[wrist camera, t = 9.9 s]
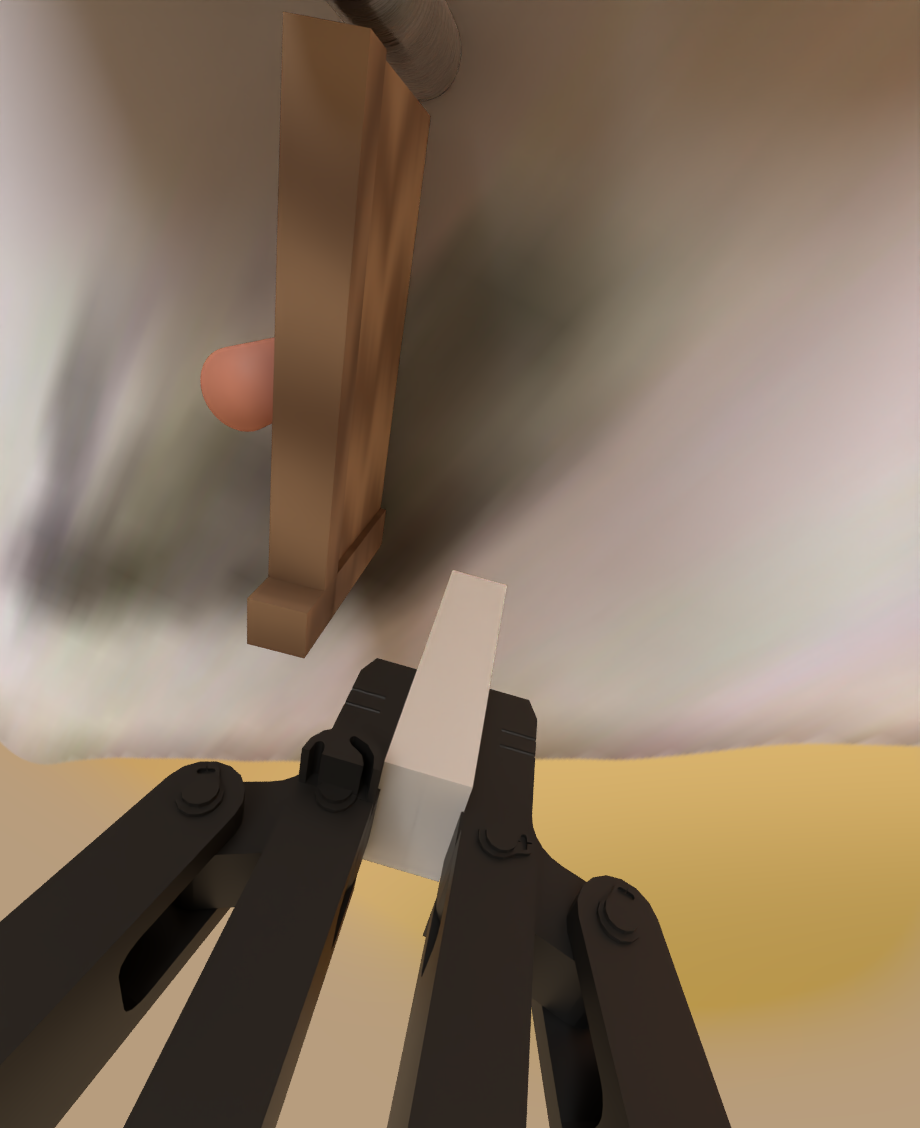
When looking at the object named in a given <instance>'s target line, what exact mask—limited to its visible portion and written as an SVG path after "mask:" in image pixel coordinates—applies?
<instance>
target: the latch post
mask: <svg viewBox="0 0 920 1128" xmlns="http://www.w3.org/2000/svg"><path fill="white" fill-rule="evenodd" d="M274 341H275V337H274V338H269V339H264V340H259V341H254V342H249V343H244V344H239V345H234V346H229V347H224V348H221V349H218V350H216V351H215V352H213V353H212V354H211V355H210V356H209V357H208V358H207V359H206V361H205V363H204V365H203V368H202V371H201V380H200V381H201V389H202V393H203V397H204V399H205V402H206V403H207V405H208V407H209V409H210V410H211V411H212V413H213V414H214V415H215V416H216V417H217V418H218V419H219V420H220V421H221V422H223V423H224V424H225V425H227V426H229V427H231V428H233V429H236V430H239V431H246V432H249V431H256V430H259V429H261V428H263V427H266V426H268V425H270V424H272V419H273V380H274Z"/></svg>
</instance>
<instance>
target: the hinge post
mask: <svg viewBox="0 0 920 1128" xmlns="http://www.w3.org/2000/svg"><path fill="white" fill-rule="evenodd" d="M326 1H327V2H328V3H329V5H330V6H331V7H332V8H333V9H334V11H335V12H336V13H337V14H338V15H339V16H340V18H341V19H342V20H343V21H344V22H345V23H346V24H351V25H356V26H361V27H366V28H371V29H372V31H373V32H374V33H375V35H376V36H377V37H378V39H379V40H380V41H381V42H382V44H383V45H384V46H385V48H386V49H387V54H386V61H387V62H388V63H389V65H390V66H391V67H392V68H393V70H394V71H395V72H396V73H397V75H398V76H399V77H400V78H401V80H402V81H403V82H404V83H405V85H406V86H407V87H408V89H409V90H410V91H411V92H412V94H413V95H414V96H415V97H416V99H418V100H429V99H433V98H436V97H438V96H439V95H441V94H442V93H444V92H445V91H446V90H447V89H448V88H449V86H450V85H451V84H452V82H453V80H454V79H455V76H456V74H457V72H458V69H459V65H460V60H461V40H460V35H459V32H458V29H457V26H456V24H455V21H454V19H453V16H452V14H451V11H450V9H449V7H448V4H447V2H446V0H326Z"/></svg>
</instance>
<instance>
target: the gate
mask: <svg viewBox="0 0 920 1128" xmlns="http://www.w3.org/2000/svg"><path fill="white" fill-rule="evenodd" d="M386 54H387V49H386V48H385V46H384V45H383V44H382V42H381V41H380V40H379V39H378V37H377V36H376V35H375V33H374V32H373V31H372V29H371V28H366V27H361V26H356V25H351V24H346V23H340V22H335V21H330V20H325V19H319V18H314V17H309V16H304V15H299V14H293V13H288V12H283V31H282V70H281V109H280V148H279V186H278V225H277V264H276V303H275V341H274V380H273V419H272V458H271V496H270V535H269V574H268V578H267V579H266V580H265V581H264V582H263V583H262V584H261V585H260V586H259V587H258V588H257V589H256V590H255V591H254V592H253V593H252V594H251V595H250V596H249V597H248V598H247V644H250V645H254V646H258V647H262V648H266V649H270V650H274V651H278V652H281V653H285V654H289V655H293V656H297V657H301V658H305V657H306V655H307V654H308V652H309V651H310V649H311V648H312V646H313V645H314V643H315V642H316V640H317V639H318V637H319V636H320V635H321V633H322V632H323V630H324V629H325V627H326V626H327V624H328V623H329V621H330V620H331V618H332V617H333V615H334V614H335V612H336V611H337V609H338V608H339V606H340V605H341V604H342V602H343V601H344V599H345V598H346V596H347V595H348V593H349V592H350V590H351V589H352V587H353V586H354V584H355V583H356V581H357V580H358V578H359V577H360V575H361V574H362V572H363V571H364V570H365V568H366V567H367V565H368V564H369V562H370V561H371V559H372V558H373V556H374V555H375V553H376V552H377V550H378V549H379V547H380V546H381V544H382V537H383V530H384V522H385V515H386V509H381V500H382V493H383V485H384V477H385V469H386V461H387V454H388V446H389V438H390V430H391V422H392V415H393V407H394V399H395V391H396V383H397V376H398V368H399V360H400V352H401V344H402V337H403V329H404V321H405V313H406V305H407V298H408V290H409V282H410V274H411V266H412V259H413V251H414V243H415V235H416V227H417V220H418V212H419V204H420V196H421V188H422V181H423V173H424V165H425V157H426V149H427V142H428V134H429V126H430V118H431V116H430V115H429V114H428V112H427V111H426V110H425V109H424V107H423V106H422V105H421V104H420V102H419V101H418V100H417V99H416V97H415V96H414V95H413V94H412V92H411V91H410V90H409V89H408V87H407V86H406V85H405V83H404V82H403V81H402V80H401V78H400V77H399V76H398V75H397V73H396V72H395V71H394V70H393V68H392V67H391V66H390V65H389V63H388V62H387V61H386Z"/></svg>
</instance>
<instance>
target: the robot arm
mask: <svg viewBox="0 0 920 1128" xmlns="http://www.w3.org/2000/svg"><path fill="white" fill-rule="evenodd" d="M506 588H507V585H505V584H501V583H497V582H494V581H490V580H487V579H483V578H480V577H476V576H472V575H469V574H465V573H462V572H458V571H455V570H452V573H451V576H450V579H449V581H448V584H447V587H446V590H445V593H444V595H443V598H442V601H441V604H440V607H439V610H438V612H437V615H436V618H435V621H434V624H433V626H432V629H431V632H430V635H429V638H428V640H427V643H426V646H425V649H424V652H423V654H422V657H421V660H420V663H419V666H418V668H417V669H413V668H410V667H406V666H403V665H399V664H396V663H392V662H389V661H385V660H382V659H378V658H377V659H375V660H374V661H373V662H371V663H370V664H369V665H367V666H366V667H365V668H363V669H362V670H361V671H360V673H359V675H358V677H357V679H356V681H355V683H354V685H353V688H352V690H351V692H350V694H349V696H348V698H347V700H346V702H345V704H344V706H343V708H342V710H341V712H340V714H339V716H338V718H337V720H336V722H335V724H334V726H333V728H332V729H330V730H324V731H322V732H320V733H319V734H317V735H315V736H313V737H311V738H310V739H309V741H308V742H307V743H306V744H305V745H304V747H303V748H302V753H301V762H300V770H299V775H297V776H295V777H292V778H289V779H286V780H282V781H272V782H243V781H242V777H241V775H240V774H238V772H236V771H235V770H234V769H233V768H232V767H231V766H228V765H225V764H222V763H219V762H197V763H194V764H191V765H187V766H184V767H182V768H180V769H179V770H177V771H176V772H174V773H172V774H171V775H169V776H168V777H167V778H165V779H164V780H163V781H162V782H161V783H160V784H159V785H157V786H156V787H155V788H154V789H153V790H152V791H150V792H149V793H148V794H147V795H146V796H145V797H144V798H142V799H141V800H140V801H139V802H138V803H137V804H136V805H134V806H133V807H132V808H131V809H130V810H129V811H127V812H126V813H125V814H124V815H123V816H122V817H121V818H119V819H118V820H117V821H116V822H115V823H114V824H112V825H111V826H110V827H109V828H108V829H107V830H106V831H105V832H103V833H102V834H101V835H100V836H99V837H97V838H96V839H95V840H94V841H93V842H92V843H91V844H89V845H88V846H87V847H86V848H85V849H84V850H83V851H81V852H80V853H79V854H78V855H77V856H76V857H74V858H73V859H72V860H71V861H70V862H69V863H68V864H66V865H65V866H64V867H63V868H62V869H61V870H59V871H58V872H57V873H56V874H55V875H54V876H53V877H51V878H50V879H49V880H48V881H47V882H46V883H44V884H43V885H42V886H41V887H40V888H39V889H38V890H36V891H35V892H34V893H33V894H32V895H31V896H30V897H29V898H27V899H26V900H25V901H24V902H23V903H21V904H20V905H19V906H18V907H17V908H16V909H14V910H13V911H12V912H11V913H10V914H9V915H8V916H6V917H5V918H4V919H3V920H2V921H1V922H0V1128H55V1127H56V1125H57V1124H58V1123H59V1122H60V1120H61V1119H62V1118H63V1117H64V1115H65V1114H66V1113H67V1112H68V1110H69V1109H70V1108H71V1107H72V1105H73V1104H74V1103H75V1102H76V1100H77V1099H78V1098H79V1097H80V1095H81V1094H82V1093H83V1092H84V1090H85V1089H86V1088H87V1087H88V1085H89V1084H90V1083H91V1082H92V1080H93V1079H94V1078H95V1076H96V1075H97V1074H98V1073H99V1072H100V1070H101V1069H102V1068H103V1067H104V1065H105V1064H106V1063H107V1062H108V1060H109V1059H110V1058H111V1057H112V1055H113V1054H114V1053H115V1052H116V1050H117V1049H118V1048H119V1047H120V1045H121V1044H122V1043H123V1042H124V1040H125V1039H126V1038H127V1037H128V1035H129V1034H130V1032H132V1030H133V1029H134V1028H135V1026H136V1025H137V1024H138V1023H139V1021H140V1020H141V1019H142V1018H143V1016H144V1015H145V1014H146V1013H147V1011H148V1010H149V1009H150V1008H151V1006H152V1005H153V1004H154V1003H155V1001H156V1000H157V999H158V998H159V996H160V995H161V994H162V993H163V991H164V990H165V989H166V988H167V986H168V985H169V984H170V983H171V981H172V980H173V979H174V978H175V976H176V975H177V974H178V973H179V971H180V970H181V969H182V968H183V966H184V965H185V964H186V963H187V961H188V960H189V959H190V958H191V956H192V955H193V954H194V953H195V951H196V950H197V949H198V947H199V946H200V945H201V944H202V943H203V941H204V940H205V939H206V938H207V936H208V935H209V934H210V933H211V931H212V930H213V929H214V928H215V926H216V925H217V924H218V923H219V921H220V920H221V919H222V918H223V916H224V915H225V914H226V913H227V911H228V910H229V909H230V908H231V907H235V908H234V909H233V911H232V914H231V916H230V918H229V919H228V921H227V924H226V926H225V927H224V929H223V931H222V933H221V936H220V937H219V939H218V941H217V943H216V945H215V947H214V949H213V951H212V953H211V955H210V957H209V959H208V961H207V963H206V965H205V967H204V969H203V971H202V973H201V975H200V977H199V979H198V981H197V983H196V985H195V987H194V989H193V991H192V993H191V995H190V997H189V999H188V1001H187V1003H186V1005H185V1007H184V1008H183V1010H182V1013H181V1014H180V1016H179V1019H178V1020H177V1022H176V1024H175V1026H174V1028H173V1030H172V1032H171V1034H170V1036H169V1038H168V1040H167V1042H166V1044H165V1046H164V1048H163V1050H162V1052H161V1054H160V1056H159V1058H158V1060H157V1062H156V1064H155V1066H154V1068H153V1070H152V1072H151V1074H150V1076H149V1078H148V1080H147V1082H146V1084H145V1086H144V1088H143V1090H142V1092H141V1094H140V1096H139V1098H138V1100H137V1102H136V1104H135V1106H134V1107H133V1110H132V1112H131V1113H130V1115H129V1117H128V1119H127V1121H126V1123H125V1125H124V1127H123V1128H275V1127H276V1124H277V1121H278V1118H279V1115H280V1112H281V1109H282V1106H283V1103H284V1100H285V1097H286V1093H287V1091H288V1088H289V1085H290V1082H291V1079H292V1076H293V1073H294V1070H295V1067H296V1063H297V1061H298V1058H299V1054H300V1051H301V1048H302V1045H303V1042H304V1039H305V1036H306V1033H307V1030H308V1027H309V1024H310V1021H311V1018H312V1015H313V1011H314V1009H315V1006H316V1002H317V1000H318V997H319V994H320V990H321V988H322V985H323V982H324V979H325V975H326V972H327V969H328V966H329V963H330V960H331V957H332V954H333V951H334V948H335V945H336V942H337V939H338V936H339V933H340V930H341V927H342V924H343V921H344V918H345V914H346V911H347V908H348V905H349V902H350V899H351V896H352V893H353V890H354V886H355V881H356V877H357V873H358V870H359V867H360V864H361V861H362V859H364V860H367V861H371V862H374V863H377V864H381V865H384V866H387V867H391V868H394V869H397V870H401V871H404V872H408V873H411V874H414V875H418V876H421V877H424V878H428V879H431V880H434V881H438V882H439V880H440V883H439V888H438V893H437V898H436V901H435V903H434V906H433V909H432V912H431V914H430V917H429V920H428V923H427V926H426V928H425V931H424V934H423V936H425V937H426V940H425V945H424V950H423V954H422V959H421V964H420V969H419V974H418V979H417V984H416V988H415V994H414V999H413V1003H412V1008H411V1013H410V1018H409V1023H408V1028H407V1032H406V1038H405V1042H404V1048H403V1052H402V1057H401V1062H400V1067H399V1072H398V1077H397V1082H396V1086H395V1091H394V1096H393V1101H392V1106H391V1111H390V1116H389V1121H388V1126H387V1128H526V1117H527V1095H528V1072H529V1049H530V1026H531V1007H532V1014H533V1020H534V1027H535V1033H536V1040H537V1047H538V1053H539V1060H540V1067H541V1073H542V1080H543V1086H544V1093H545V1099H546V1106H547V1113H548V1119H549V1126H550V1128H731V1126H730V1123H729V1120H728V1117H727V1115H726V1112H725V1109H724V1106H723V1103H722V1100H721V1098H720V1095H719V1092H718V1089H717V1086H716V1083H715V1081H714V1078H713V1075H712V1072H711V1069H710V1066H709V1064H708V1061H707V1058H706V1055H705V1052H704V1049H703V1046H702V1044H701V1041H700V1038H699V1035H698V1032H697V1029H696V1027H695V1024H694V1021H693V1018H692V1015H691V1012H690V1010H689V1007H688V1004H687V1001H686V998H685V995H684V993H683V990H682V987H681V984H680V981H679V978H678V976H677V973H676V970H675V968H674V964H673V962H672V958H671V956H670V953H669V950H668V947H667V944H666V942H665V939H664V936H663V933H662V930H661V927H660V924H659V922H658V919H657V917H656V915H655V913H654V912H653V909H652V908H651V906H650V904H649V902H648V901H647V900H646V899H645V898H644V897H643V896H642V895H641V893H640V892H639V891H638V890H637V889H636V888H634V887H633V886H631V885H629V884H628V883H626V882H625V881H623V880H622V879H618V878H614V877H610V876H606V875H605V876H599V877H593V878H592V879H590V880H589V881H588V882H585V881H584V880H583V879H581V878H580V877H578V876H576V875H575V874H573V873H572V872H570V871H569V870H567V869H565V868H564V867H563V866H561V865H560V864H559V863H557V862H556V861H555V860H554V859H552V858H551V857H550V856H549V855H548V853H547V852H546V851H545V850H544V849H543V848H542V846H541V844H540V842H539V841H538V839H537V837H536V834H535V831H534V828H533V824H532V804H533V787H534V767H535V758H534V757H535V750H536V742H535V741H536V731H537V718H536V715H535V713H534V711H533V708H532V706H531V704H530V701H529V700H527V699H523V698H520V697H516V696H513V695H509V694H506V693H502V692H499V691H495V690H492V689H489V688H490V682H491V677H492V671H493V665H494V659H495V653H496V647H497V641H498V635H499V630H500V624H501V618H502V612H503V606H504V600H505V594H506ZM440 877H441V878H440Z"/></svg>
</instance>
